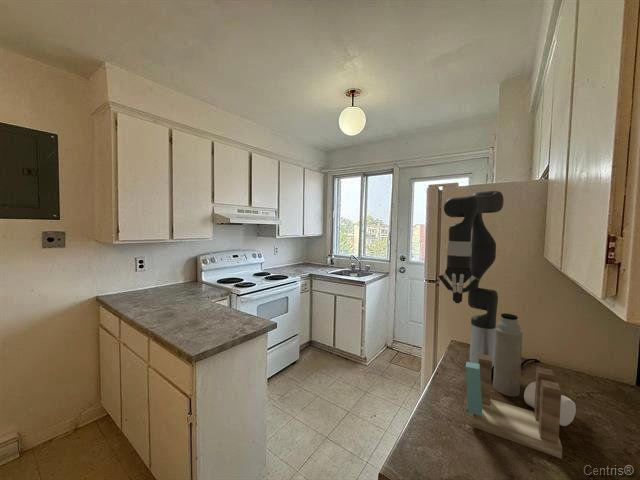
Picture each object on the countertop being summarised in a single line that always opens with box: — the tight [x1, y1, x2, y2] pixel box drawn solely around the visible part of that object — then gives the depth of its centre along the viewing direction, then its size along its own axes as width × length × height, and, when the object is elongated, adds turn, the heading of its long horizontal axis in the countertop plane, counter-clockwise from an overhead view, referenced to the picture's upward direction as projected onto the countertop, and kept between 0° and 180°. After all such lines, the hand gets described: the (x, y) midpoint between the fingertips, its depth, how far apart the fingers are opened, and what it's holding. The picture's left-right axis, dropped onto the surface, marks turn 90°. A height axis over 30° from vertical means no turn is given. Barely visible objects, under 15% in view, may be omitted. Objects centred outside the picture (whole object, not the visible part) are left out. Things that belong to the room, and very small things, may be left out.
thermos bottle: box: [492, 313, 523, 397], centre depth 97 cm, size 8×8×28 cm
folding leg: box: [465, 361, 482, 416], centre depth 81 cm, size 4×4×14 cm
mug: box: [523, 381, 577, 427], centre depth 85 cm, size 12×10×8 cm
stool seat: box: [472, 354, 563, 459], centre depth 79 cm, size 13×20×18 cm, turn 58°
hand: (457, 302), depth 94 cm, fingers closed
